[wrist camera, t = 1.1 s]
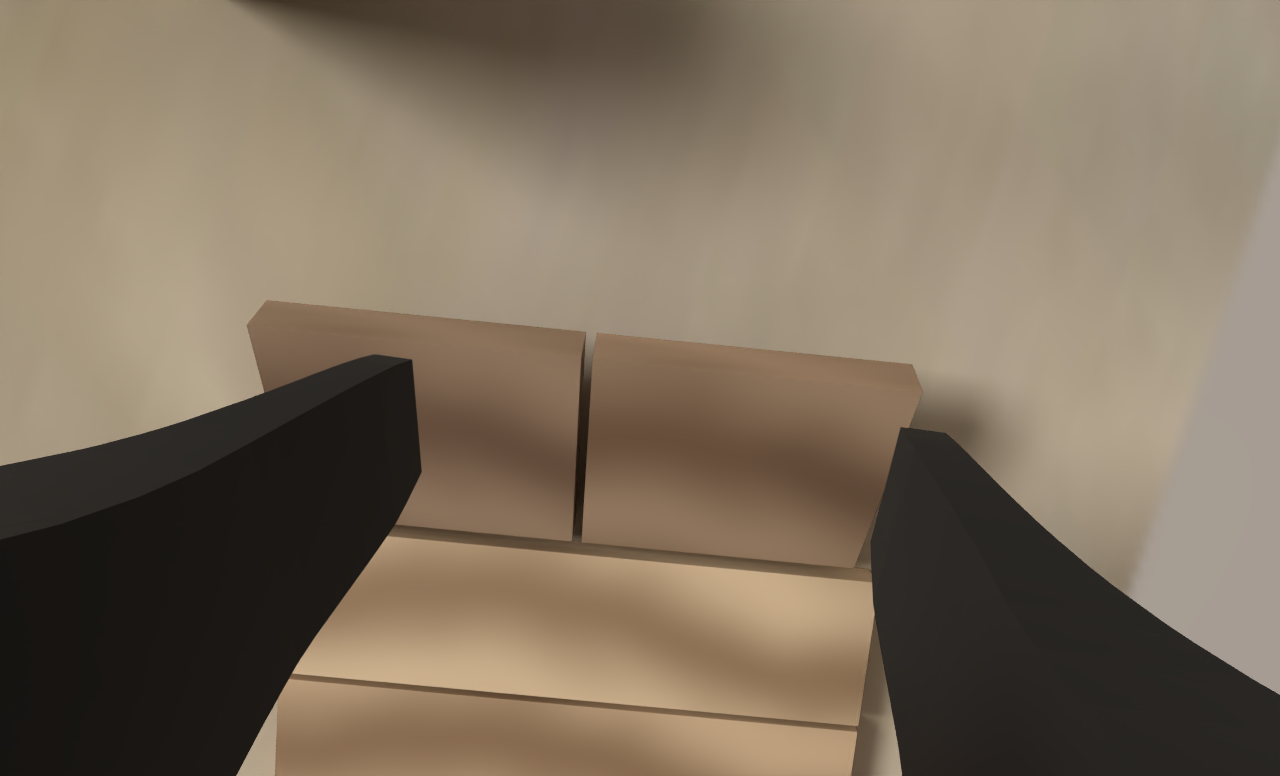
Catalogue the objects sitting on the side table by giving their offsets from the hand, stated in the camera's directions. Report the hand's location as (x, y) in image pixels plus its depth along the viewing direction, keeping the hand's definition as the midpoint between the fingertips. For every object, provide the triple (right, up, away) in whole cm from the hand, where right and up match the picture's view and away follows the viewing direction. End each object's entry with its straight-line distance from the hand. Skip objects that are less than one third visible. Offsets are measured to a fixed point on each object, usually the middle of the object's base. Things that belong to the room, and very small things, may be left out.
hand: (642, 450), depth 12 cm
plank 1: (-6, 0, +11) cm, 13 cm away
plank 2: (+3, -1, +12) cm, 12 cm away
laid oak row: (-2, -9, +15) cm, 17 cm away
